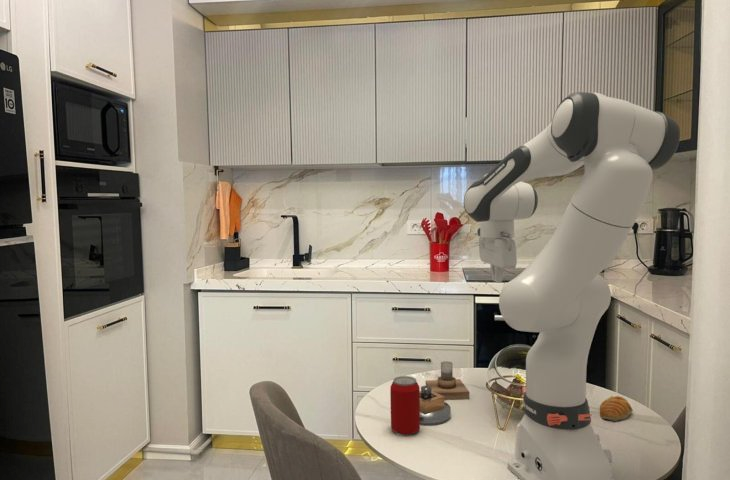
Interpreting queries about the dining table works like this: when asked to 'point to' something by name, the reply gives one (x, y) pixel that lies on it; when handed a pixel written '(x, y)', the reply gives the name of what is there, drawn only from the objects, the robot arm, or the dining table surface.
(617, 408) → the pastry
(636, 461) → the dining table surface
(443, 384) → the walnut stand
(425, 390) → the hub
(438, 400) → the wooden square frame
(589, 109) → the robot arm
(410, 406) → the beverage can
